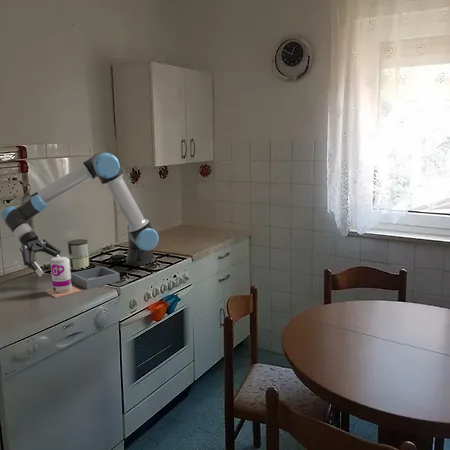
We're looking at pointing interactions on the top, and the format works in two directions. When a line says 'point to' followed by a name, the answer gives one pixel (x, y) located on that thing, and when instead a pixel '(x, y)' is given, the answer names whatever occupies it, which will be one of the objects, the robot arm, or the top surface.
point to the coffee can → (78, 253)
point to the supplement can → (61, 274)
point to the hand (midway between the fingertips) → (53, 270)
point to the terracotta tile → (56, 295)
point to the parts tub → (108, 278)
